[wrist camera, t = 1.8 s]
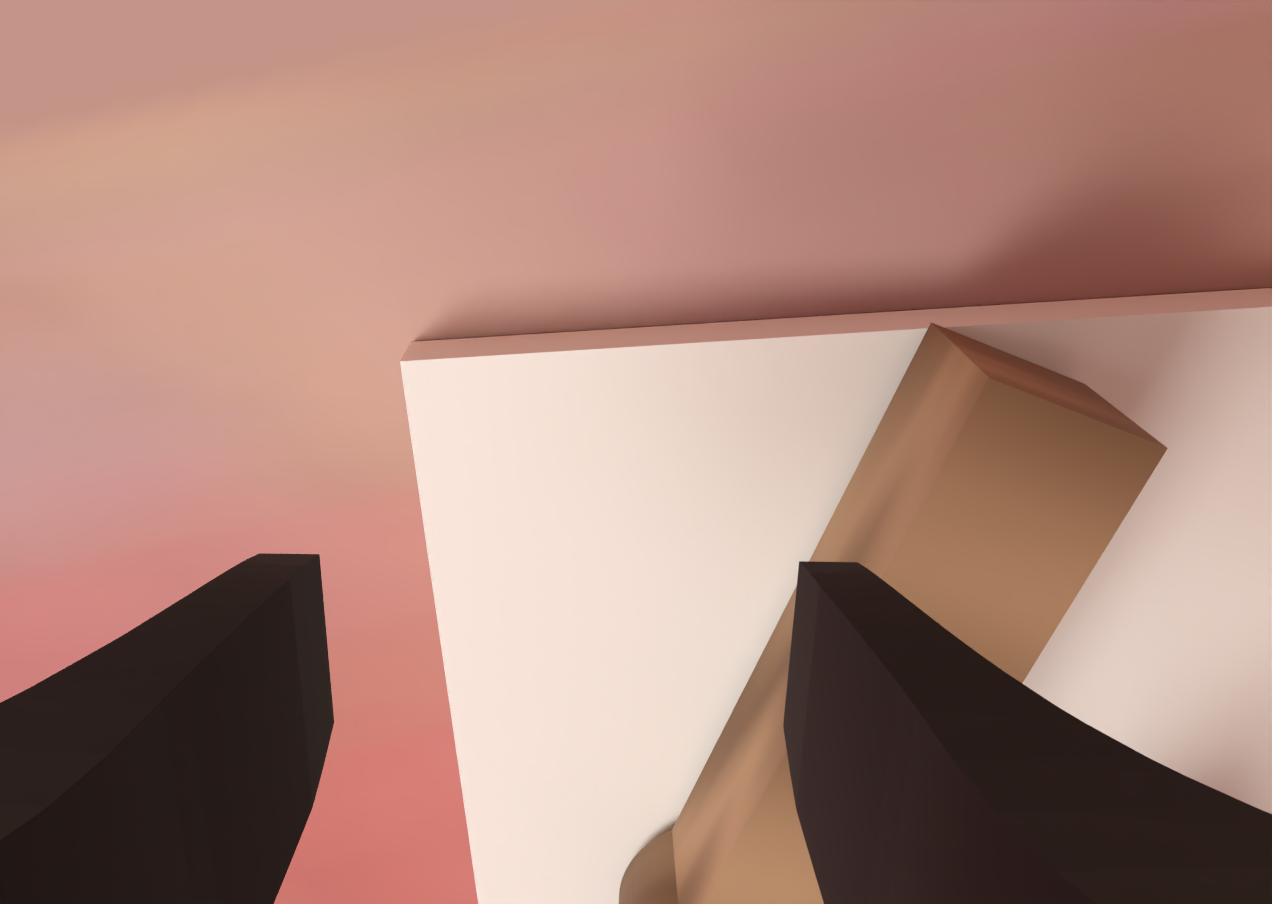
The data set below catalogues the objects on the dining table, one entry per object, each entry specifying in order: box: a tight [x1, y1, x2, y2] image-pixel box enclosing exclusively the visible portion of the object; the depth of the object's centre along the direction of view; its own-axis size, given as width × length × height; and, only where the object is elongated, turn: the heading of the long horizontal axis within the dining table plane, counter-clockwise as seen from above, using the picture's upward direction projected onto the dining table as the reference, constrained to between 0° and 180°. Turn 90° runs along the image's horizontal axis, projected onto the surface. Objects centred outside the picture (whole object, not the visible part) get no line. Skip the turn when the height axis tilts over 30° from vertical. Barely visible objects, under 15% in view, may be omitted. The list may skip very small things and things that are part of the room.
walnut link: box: [619, 323, 1168, 904], centre depth 20 cm, size 15×4×3 cm, turn 158°
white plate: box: [400, 288, 1272, 904], centre depth 22 cm, size 17×23×1 cm
